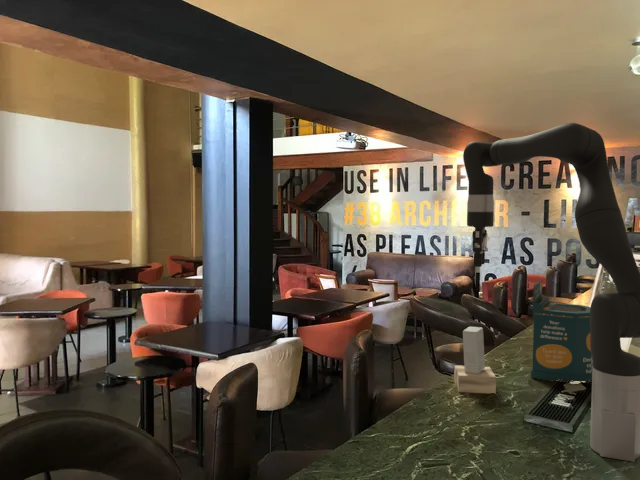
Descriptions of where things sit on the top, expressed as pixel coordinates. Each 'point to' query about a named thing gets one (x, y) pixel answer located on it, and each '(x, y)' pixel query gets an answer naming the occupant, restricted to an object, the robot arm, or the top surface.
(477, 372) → the skincare box
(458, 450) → the top surface
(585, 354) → the donation box
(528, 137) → the robot arm
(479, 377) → the birch block
